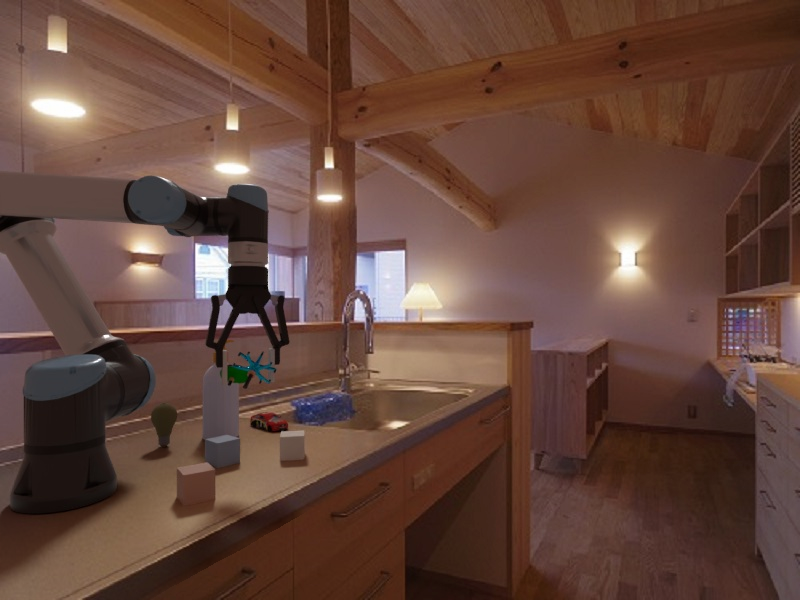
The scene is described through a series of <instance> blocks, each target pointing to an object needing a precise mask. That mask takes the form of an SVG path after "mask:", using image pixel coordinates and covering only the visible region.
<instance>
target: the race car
mask: <svg viewBox="0 0 800 600" xmlns="http://www.w3.org/2000/svg"><path fill="white" fill-rule="evenodd" d="M249 423H250V426H252V428H257V429H261V430H265V431H267V432H270V433H272V432H278V431H279V432H280V431H284V430H288V428H289V423H288V421H287V420H285V419H283V418H282V416H281V415H278V414H277V413H274V412H271V411H265V412H260V413H255V414H253V415H251V416H250V422H249Z"/></svg>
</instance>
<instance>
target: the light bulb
mask: <svg viewBox="0 0 800 600" xmlns="http://www.w3.org/2000/svg"><path fill="white" fill-rule="evenodd" d="M177 419H178V410H177V409H176V407H175V406H174V405H173V404H172V403H168V402H162V403H159V404H157V405H156V406H155V407H154V408H153V409H152V411H151V413H150V420H151V423H152V426H153V427H154V429H155V432H156V435H157V438H158V443H157V444H158V445H159V446H160V447H162V448H166V447H168V445H169V444H171V443H170V442H171V438H170V437H171V434H172V433H173V428H174V426H175V424H176V422H177Z"/></svg>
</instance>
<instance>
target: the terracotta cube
mask: <svg viewBox="0 0 800 600" xmlns="http://www.w3.org/2000/svg"><path fill="white" fill-rule="evenodd" d="M176 498H177V499H178V500H179V502H180V503H181V505H182V506H183V507H185V506H191V505H195V504H201V503H205V502H209V501H214V500H216V468H215V467H213V466H211V465H210V464H209V463H208V462H207V463H205V462H201V463H196V464H191V465H184V466H179V467H176Z"/></svg>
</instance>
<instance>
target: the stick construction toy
mask: <svg viewBox="0 0 800 600" xmlns="http://www.w3.org/2000/svg"><path fill="white" fill-rule="evenodd" d="M264 353H265V351H264V350H263V351H261V353H260V354H259V355H258V358H257V359H256V361H254V360H252V357H251V355H250V354H251V351H247V353H246V354H244V353H243V352H241V351H238V354H237V356H238V357H240V356H241V357H242V358H243V359H244V360H246V361H247V362H248V364H249V365H248V366H242V365H239V364H236V363H235V362H233V364H229V365H227V382H228V386H231V384H232V383H239V384H243V386H242V389H244V390H246V389H248V387H249V384H251V381H252V379H254V378H255V377H256V376H257V377H258V379H259V382H258V384H259V385H260V384H261V383H262V382H263V381H264V382H265V383H267V384H269V385H270V384H271V380H270V379H269V381H268V379H267V378H266V377H265V376H264V375H262V373H261V371H262V370H267V371H268V370H273V371H274V373H275V374H276V373H277V367H275V368H272V367H270V366H271V365H272V362H270V364H265V365H263V364H260V362H261V360H262V359H263V356H264ZM220 376H221V378H222V369H221V371H220Z"/></svg>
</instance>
